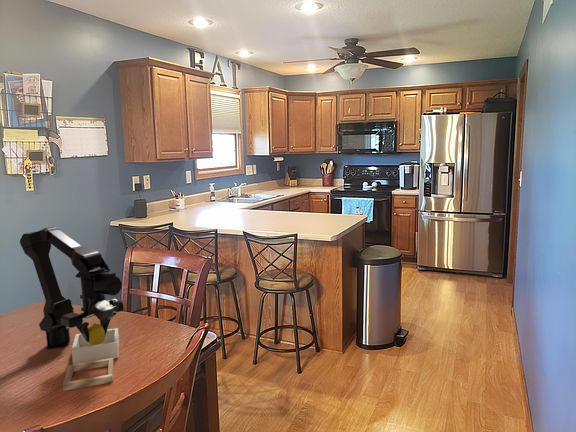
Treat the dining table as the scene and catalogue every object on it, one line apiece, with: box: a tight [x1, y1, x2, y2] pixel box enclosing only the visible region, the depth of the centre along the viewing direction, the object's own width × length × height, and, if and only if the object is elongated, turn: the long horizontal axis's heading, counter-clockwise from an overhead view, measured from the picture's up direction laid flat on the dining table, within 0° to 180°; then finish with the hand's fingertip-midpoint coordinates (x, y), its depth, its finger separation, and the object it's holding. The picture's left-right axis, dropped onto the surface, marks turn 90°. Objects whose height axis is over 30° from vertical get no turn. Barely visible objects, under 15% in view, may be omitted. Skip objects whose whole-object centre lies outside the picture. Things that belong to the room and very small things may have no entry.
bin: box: [71, 327, 120, 364], centre depth 144 cm, size 13×13×5 cm
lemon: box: [88, 322, 105, 345], centre depth 144 cm, size 6×6×8 cm
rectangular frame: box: [62, 358, 115, 392], centre depth 129 cm, size 12×12×2 cm
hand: (95, 338), depth 144 cm, fingers closed on lemon, 5 cm apart
